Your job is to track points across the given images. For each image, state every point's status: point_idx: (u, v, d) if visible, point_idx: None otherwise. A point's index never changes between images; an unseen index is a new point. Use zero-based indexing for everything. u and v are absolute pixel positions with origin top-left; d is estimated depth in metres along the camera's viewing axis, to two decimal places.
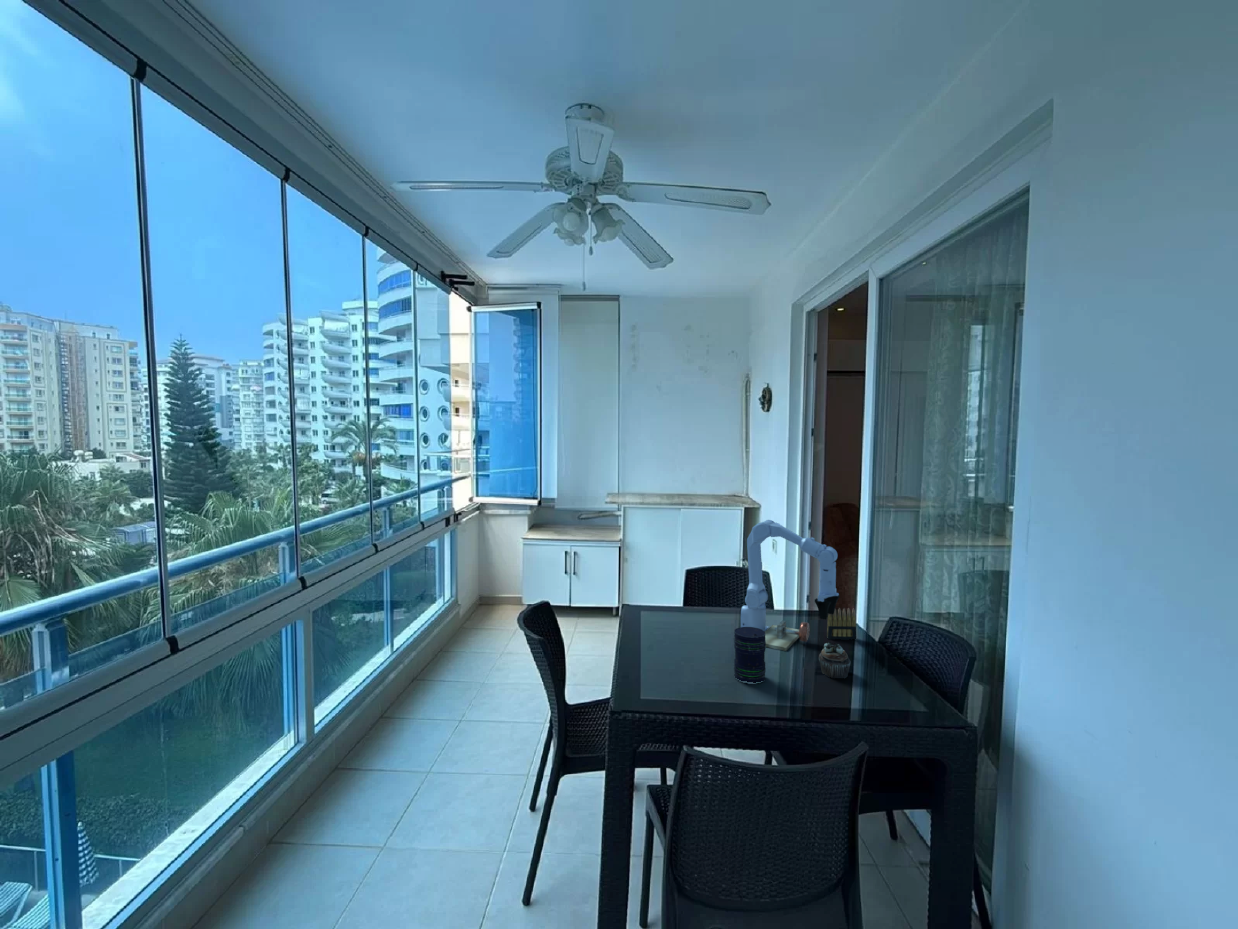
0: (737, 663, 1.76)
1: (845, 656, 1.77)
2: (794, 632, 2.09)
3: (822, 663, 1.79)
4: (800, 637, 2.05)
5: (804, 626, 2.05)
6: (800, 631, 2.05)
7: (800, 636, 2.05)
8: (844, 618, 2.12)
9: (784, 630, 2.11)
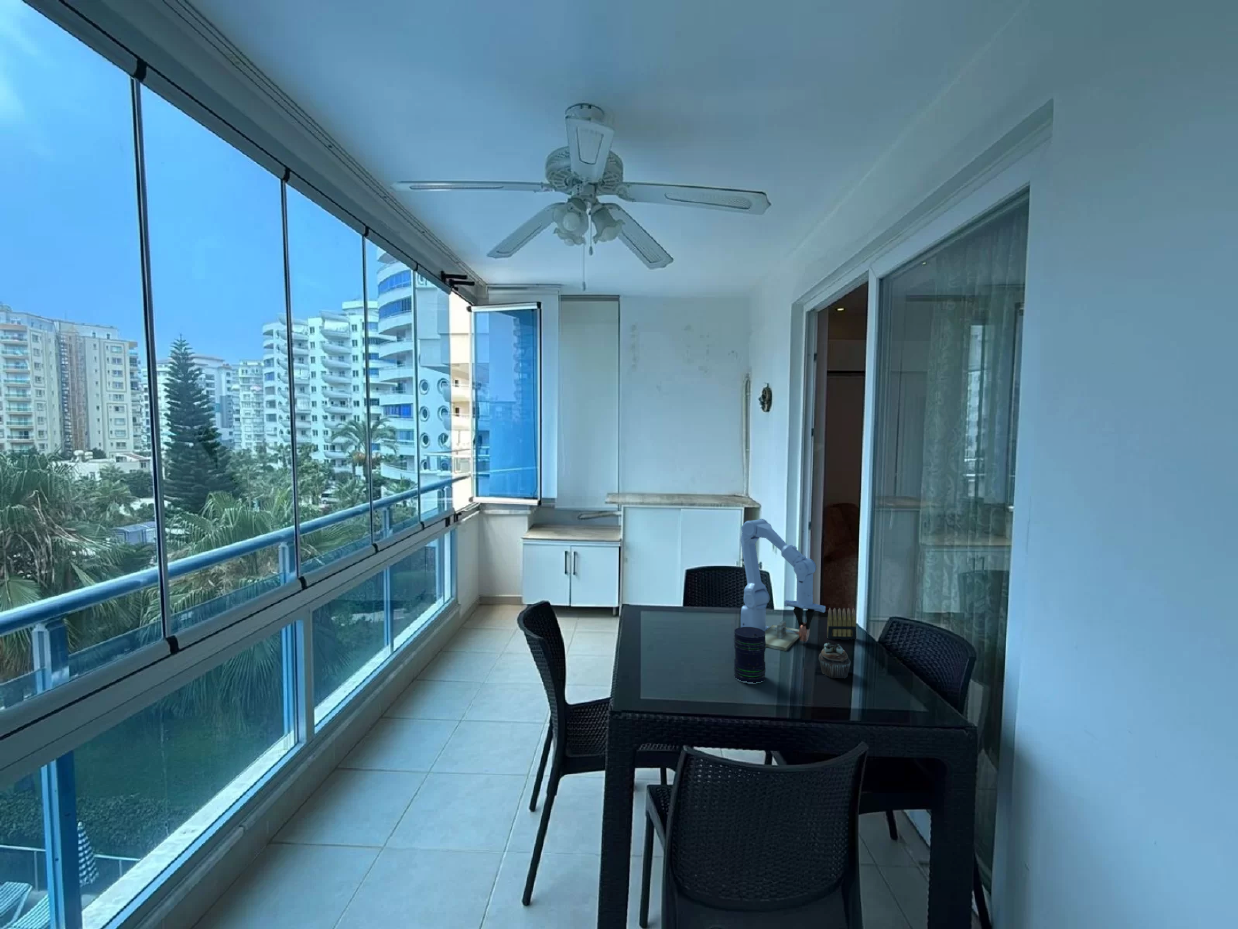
0: (737, 663, 1.76)
1: (845, 656, 1.77)
2: (794, 632, 2.09)
3: (822, 663, 1.79)
4: (800, 637, 2.05)
5: (804, 626, 2.05)
6: (800, 631, 2.05)
7: (800, 636, 2.05)
8: (844, 618, 2.12)
9: (784, 630, 2.11)
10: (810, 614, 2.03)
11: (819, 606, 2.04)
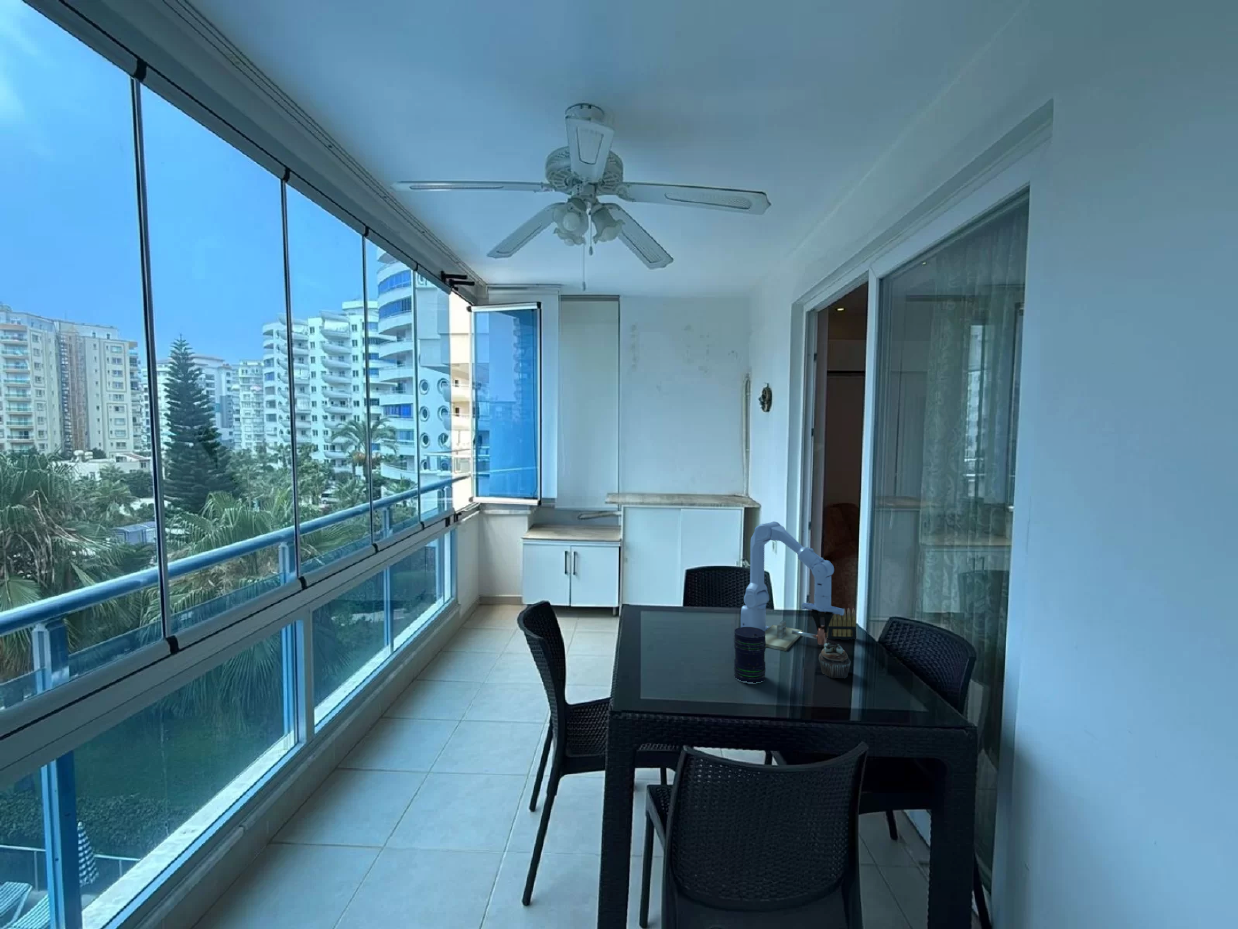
0: (737, 663, 1.76)
1: (845, 656, 1.77)
2: (812, 635, 2.05)
3: (822, 663, 1.79)
4: (818, 640, 2.01)
5: (822, 629, 2.02)
6: (818, 634, 2.01)
7: (818, 639, 2.01)
8: (844, 618, 2.12)
9: (801, 633, 2.07)
10: (828, 617, 2.00)
11: (838, 609, 2.00)
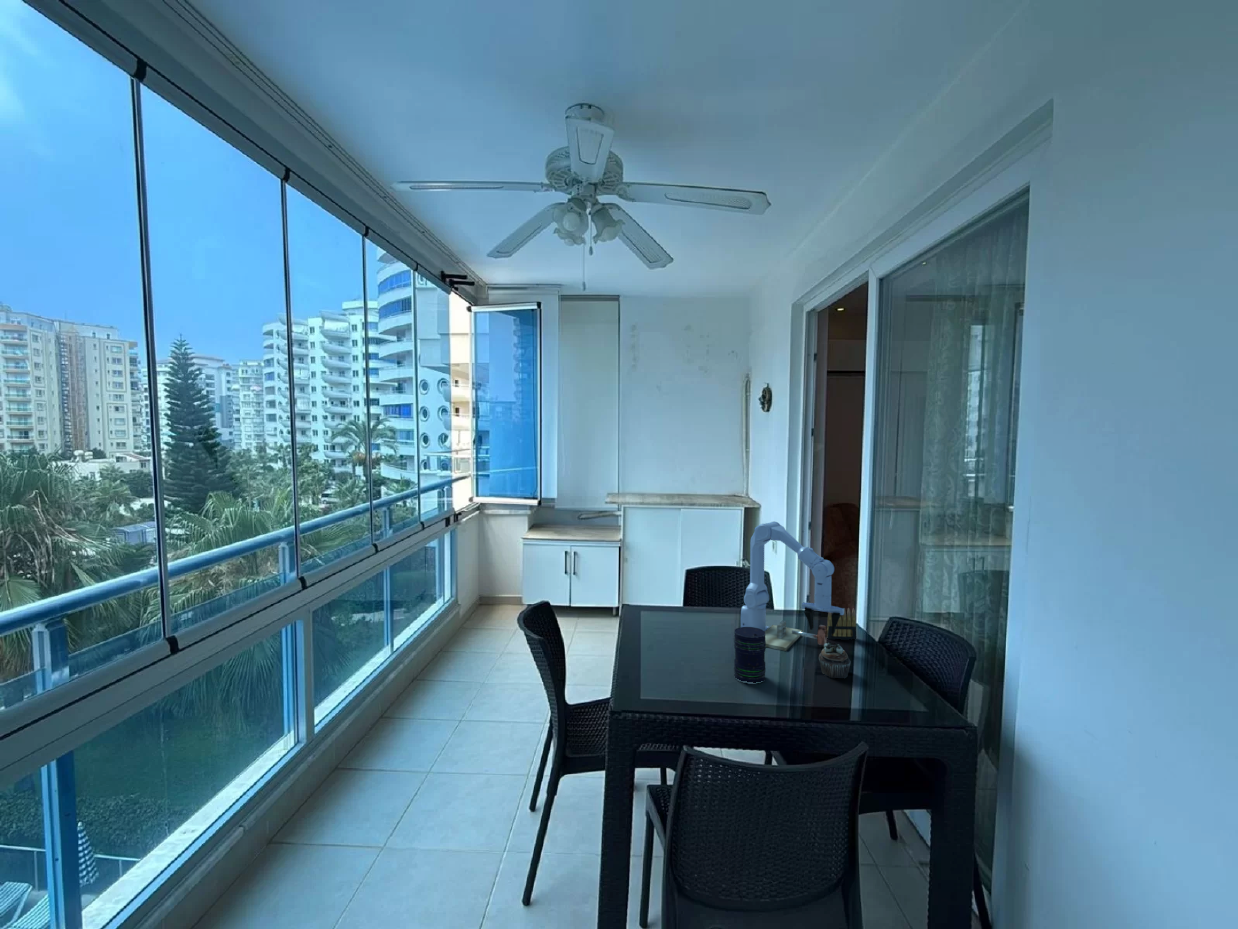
0: (737, 663, 1.76)
1: (845, 656, 1.77)
2: (812, 635, 2.05)
3: (822, 663, 1.79)
4: (818, 640, 2.01)
5: (822, 629, 2.02)
6: (818, 634, 2.01)
7: (818, 639, 2.01)
8: (844, 618, 2.12)
9: (801, 633, 2.07)
10: (836, 618, 1.98)
11: (838, 609, 2.00)
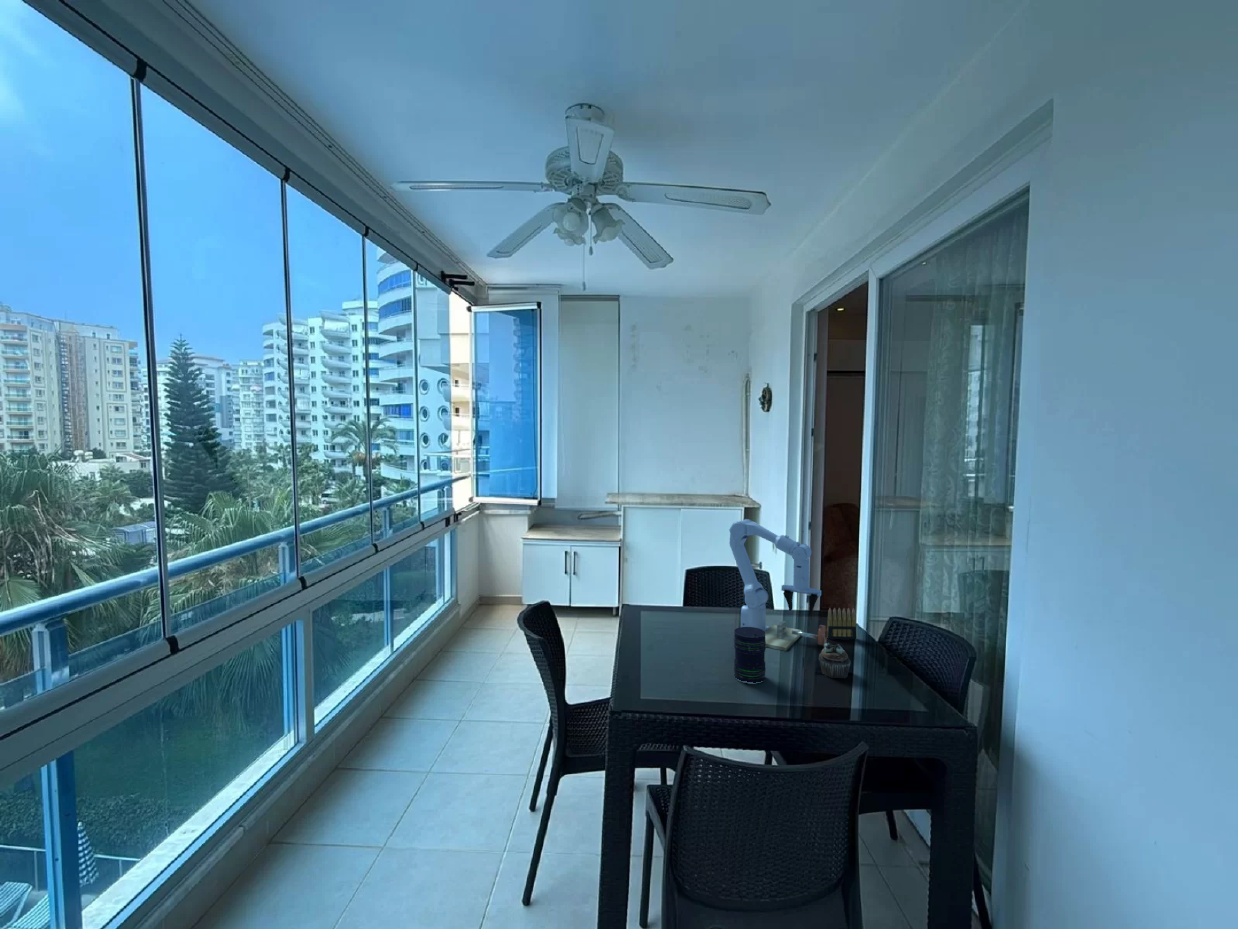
0: (737, 663, 1.76)
1: (845, 656, 1.77)
2: (812, 635, 2.05)
3: (822, 663, 1.79)
4: (818, 640, 2.01)
5: (822, 629, 2.02)
6: (818, 634, 2.01)
7: (818, 639, 2.01)
8: (844, 618, 2.12)
9: (801, 633, 2.07)
10: (813, 599, 2.07)
11: (815, 590, 2.09)
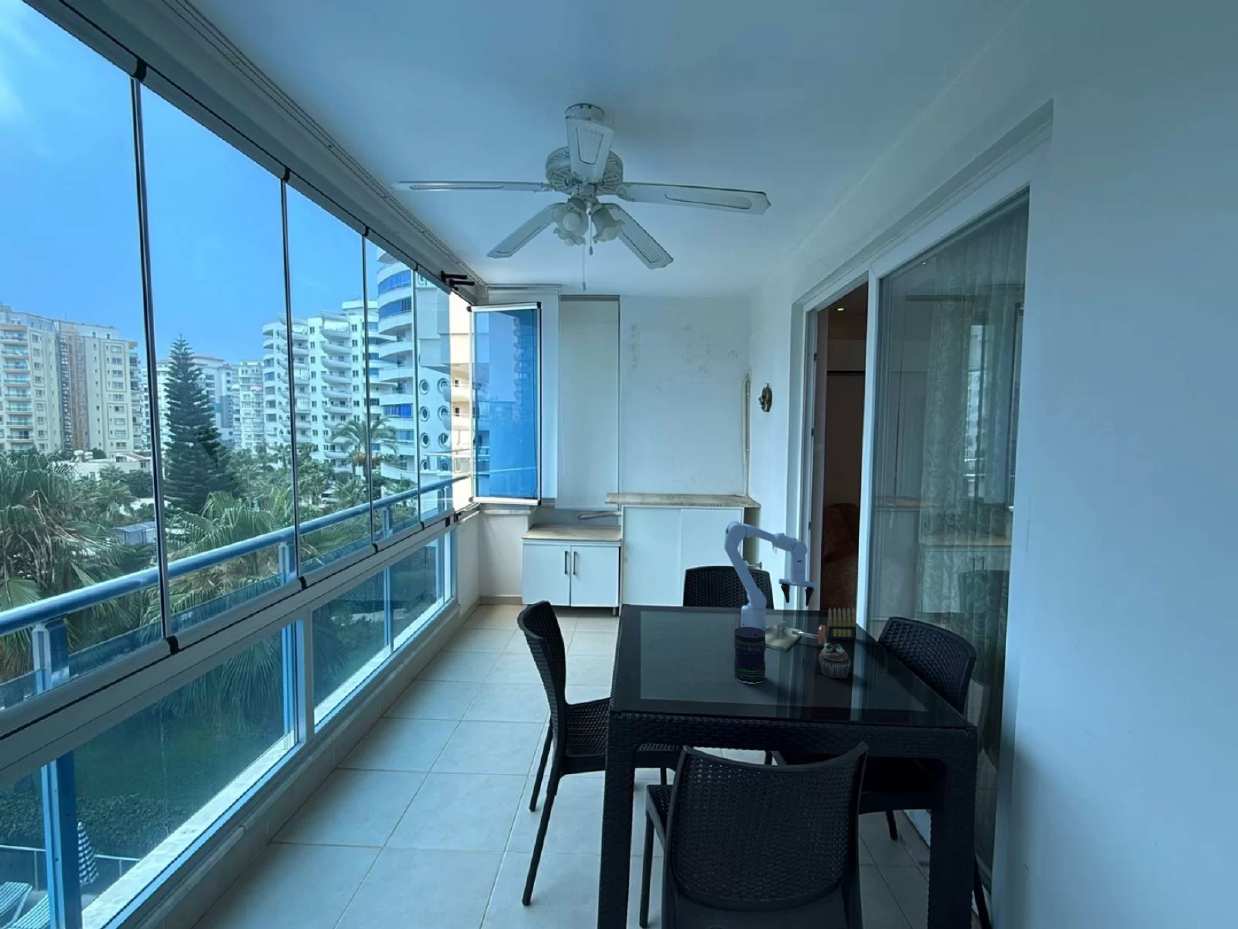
0: (737, 663, 1.76)
1: (845, 656, 1.77)
2: (812, 635, 2.05)
3: (822, 663, 1.79)
4: (818, 640, 2.01)
5: (822, 629, 2.02)
6: (818, 634, 2.01)
7: (818, 639, 2.01)
8: (844, 618, 2.12)
9: (801, 633, 2.07)
10: (809, 592, 2.17)
11: (811, 583, 2.19)
